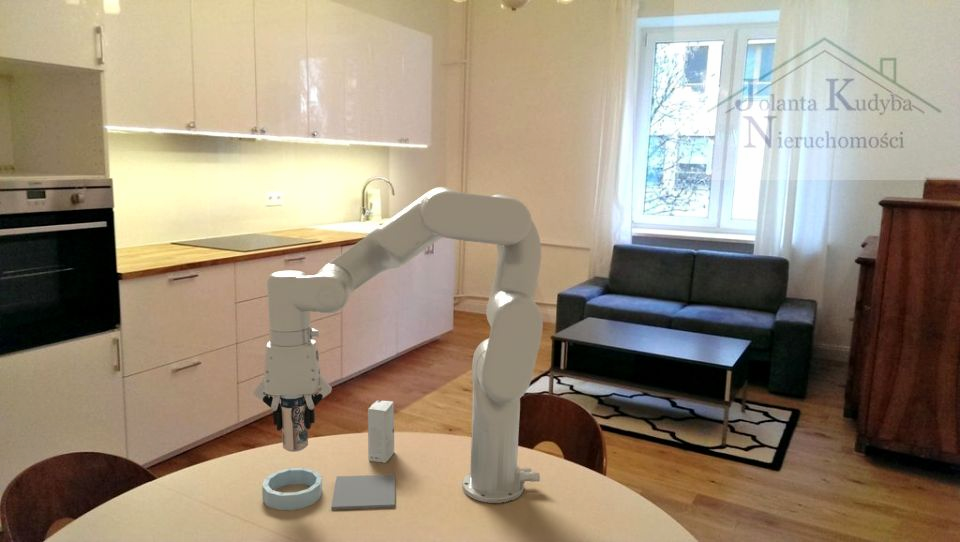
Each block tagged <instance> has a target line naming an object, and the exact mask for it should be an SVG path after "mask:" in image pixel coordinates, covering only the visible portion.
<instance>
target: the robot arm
mask: <svg viewBox="0 0 960 542" xmlns="http://www.w3.org/2000/svg"><path fill="white" fill-rule="evenodd" d="M441 239H449V240H450V239H451V240H457V241H464V242H471V243H472V242H473V243H480V244H481V243H482V244H490V245H496V251H497V257H496V258H497V259H496V264H495V271H494V276H493V280H492V281H493V282H492V285H491V289H490V294H489V297H488V301H487V304H486V310H485V311H486V312H485V314H486V318H487V322H488V324H489V326H490V332H489V337H488V338H487V339H484V340H482V341H481V342H480V343H479V345H477V346H476V349H475V350H474V353H473V357H472V364H471V374H472V377H471V379H472V412H471V413H472V414H471V416H472V417H471V440H470V441H471V442H470V443H471V445H470V467H469V468H470V472H469V473H468V474H467V475H465V476H464V477H463V479H462V484H461V485H462V490H463V492H464V493H465V494H466V496H468V497H469V498H472V499H474V500H476V501H477V502H478V501H479V502H482V503H487V502H488V504H489V503H490V504H503V503H502V502H504V503H508V501H509V502H511V501H510V500H512V501H514V500H516V499H517V498H519V497H520V496H522V494H523V492H524V489H525V487H524V485H525V483H526V482H531V483H534V482H540V480H541V474H540V472H539V471H532V468H531V467H520V466H519V465H518V454H519V453H518V450H519V434H520V433H519V431H520V429H519V428H520V415H521V414H520V412H521V398H522V397H523V396H524V395H525V394H526V393H527V391H528V389H529V388H530V385H531V382H532V380H533V375H534V370H535V366H536V363H537V358H538V353H539V349H540V345H541V340H542V337H543V336H542V335H543V327H544V326H543V325H544V324H543V323H544V320H543V314H542V312H541V309H540V308H539V305H538V304H537V303H536V302H535V299H536V292H537V287H538V281H539V275H540V269H541V264H542V243H541V238H540V234H539V232H538V229H537V227H536V224H535V222H534V220H533V219H532V215H531V213H530V210H529V208H528V207H527V205H525V204H524V203H523V202H522V201H521V200H519V199H516V198H515V197H512V196H510V195H508V194H502V193H498V194H494V195H484V194H475V193H469V192H462V191H457V190H454V189H452V188H450V187H446V186H439V187H434V188H432V189H430V190H429V191H427V192H426V193H424V194H423V195H422V196H420V197H419V198H417V199H416V200H415V201H413V202H412V203H410V204H409V205H408V206H406V207H405V208H403V209H402V210H401V211H399V212H397V214H395V215H393V216H392V217H391V218H389V219H388V220H387V221H385V222H384V223H382V224H381V225H380V226H378V227H376V228H375V229H374V230H373V231H371V232H370V233H368V234H367V235H366V236H365V237H364V238H362V239H361V240H359V241H358V242H357V243H355V244H354V245H352V246H351V247H349V248H347V249H346V250H345V251H343V252H342V253H341V254H339V255H338V256H336V257H335V258H334V259H332V260H331V261H329V262H328V263H327V264H325V265H324V266H323V267H322V268H320V269H319V270H318V272H316V274H314V275H308V274H307V273H305V272H304V271H300V270H279V271H275V272H273V273H270V275H269V276H268V277H267V281H266V287H267V290H266V291H267V306H268V326H269V341H268V342H267V344H266V348H265V355H264V369H263V370H264V372H263V379H261V381H260V382H259V384H258V385H257V387H256V388H255V389H254V391H253V396H255V397H256V398H257V399H259V400H261V401H262V402H263V403H264V404H265V405H267V406H268V408H270V410H271V411H272V416H273V418H272V419H273V425H275V426H276V430H277V431H282V415H281V396H286V395H304V397H305V400H306V406H307V408H306V410H305V415H306V429H307V430H310V429H311V427H312V424H315V419H316V417H315V407H316V406H317V405H318V404H319V403H320V402H321V401H323V399H324V398H325V397H327V396H328V395H330V394H331V393H332V389H333V388H332V386H331V384H329V383H328V381H327V380H325V378H324V377H323V376H322V375H321V365H320V356H319V349H318V345H317V342H316V340H315V339H313V338H316V337H317V338H319V336H320V333H319V332H320V330H319V329H315V328H313V327H312V324H311V312H313V313H320V314H333V313H337V312H339V311H342V310H343V309H344V308H345V307H346V306H347V304H348V301H349V299H350V295H351V293H353V292H355V291H356V290H357V289H358V288H360V287H361V286H363V285H364V284H365V283H367V282H369V281H370V280H372V279H373V278H374V277H376V276H378V275H379V274H381V273H383V272H385V271H388V270H391V269H393V270H394V269H397V268H400V267H402V266H403V265H406V264H407V263H409V262H410V261H411V260H412V259H414V258H415V257H416V256H418V255H419V254H421V253H422V252H424V251H425V250H427V249H428V248H429V247H431V246H432V245H433V244H435V243H436V242H438V241H439V240H441ZM319 387H320V388H321V390H320V391H319ZM513 499H514V500H513Z"/></svg>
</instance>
